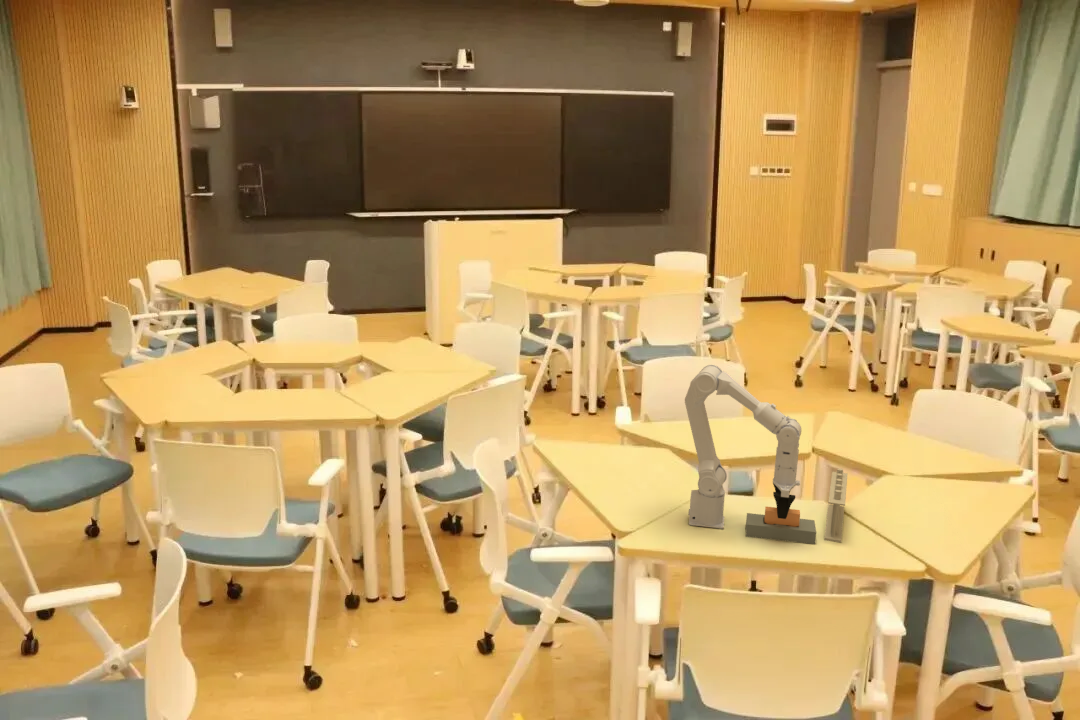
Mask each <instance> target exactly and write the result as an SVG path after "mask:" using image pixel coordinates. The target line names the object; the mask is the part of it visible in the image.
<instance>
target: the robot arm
mask: <svg viewBox="0 0 1080 720" xmlns="http://www.w3.org/2000/svg"><path fill="white" fill-rule="evenodd" d="M716 391H717V392H716ZM714 392H716V396H725V395H727V396H729V397H731V398H732V399H734V400H735V401H736V402H738V403H740V404H741V405H742V406H743V407H745V408H746V409H748V410H749V411H751V412H752V414H753V418H754V420H755V421H756V422H757V423H759V424H760V425H761V426H763V427H764V428H765V429H767V431H768V432H771V434H773V435H775V436H776V441H777V446H776V449H775V451H776V452H775V462H774V471H773V478H772V484H773V487H774V490H775V491H773V494H772V495H773V499H774V500H775V504H776V508H777V515H778V518H781V519H786V517H787V515H788V512H789V509H791V505H792V504H793V502H794V501H795V500H796V495H795V494H790V493H791V491H792V490H793V489H794V488H795V487H796V486H798V487H799V486H801V481H800V480H797V472H798V471H797V470H798V462H799V451H800V450H799V448H800V447H799V446H800V438H801V434H802V426H801V424H800V423H799V422H798V420H797V419H795V418H791V417H790V416H789V415H785V414H784V413H782V412H781V411H780V410H778V409H777V408H776V407H777V405H776V404H775V403H773V402H772V403H769V402H768V401H764V402H763V401H762V402H761V401H760V400H758V398H757V397H755V396H754V395H753V394H752V393H750V392H749V391H748V389H746V388H744V387H743V386H742V385H741V384H740V383H739V382H738V381H736V379H734V378H733V377H732V376H731V375H730V374H729V373H728V372H727V371H724V370H722V369H721V368H720V367H719V366H717V365H715V364H708V365H705V366H703V368H702V369H701V370H700V371H699V372H698V373H697V374H696V375H695V377H693V379H691V381H690V383H689V387H688V390H687V391H686V395H685V398H684V404H685V408H686V413H687V418H688V421H689V426H690V430H691V434H692V439H693V443H694V447H695V451H696V456H697V460H698V467H697V468H698V469H697V470H698V471H697V472H698V481H697V487H698V489H692V490H691V492H690V503H689V508H688V517H689V519H688V526H694V527H695V526H697V527H703V528H713V529H721V530H722V529H724V528H725V516H724V508H725V495H726V494H725V493H726V491H725V488H724V487H723V485H724V483H726V480H727V477H728V476H727V471H726V469H725V468H724V467H723V465H722V462H721V460H720V458H719V457H718V456H717V452H716V447H715V443H714V439H713V434H712V431H711V426H710V422H709V418H708V414H707V408H706V404H705V401H706V399H708V397H709V396H711V394H713V393H714Z"/></svg>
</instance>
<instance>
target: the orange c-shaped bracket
mask: <svg viewBox="0 0 1080 720" xmlns="http://www.w3.org/2000/svg"><path fill="white" fill-rule="evenodd" d="M764 507H765V509H764V515H765V517H764V521H765V523H766V524H771V525H774V524H781V525H789V526H790V527H797V526H799V521H800V519H801V509H794V508H789V512H788V515H787V517H786V519H781V518H778V515H777V506H776V507H772V506H764Z"/></svg>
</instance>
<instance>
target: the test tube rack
mask: <svg viewBox="0 0 1080 720" xmlns="http://www.w3.org/2000/svg"><path fill="white" fill-rule="evenodd" d="M847 486H848V472H847V473H846V472H844V469H843V468H840V467H839V468H837V470H836V471H832V470H831V479H830V487H829V493H828V505H827V514H826V523H825V530H824V537H823V540H824V541H828V542H834V543H840V544H842V541H843V540H842V539H843V526H844V525H843V524H844V515H845V513H844V512H845V506H846V502H847V501H846V499H847Z"/></svg>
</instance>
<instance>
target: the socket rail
mask: <svg viewBox="0 0 1080 720" xmlns="http://www.w3.org/2000/svg"><path fill="white" fill-rule="evenodd" d="M764 517H765V514H761V513H750V512H746V518H745V519H746V520H745V521H746V522H745V537H746V538H756V539H765V540H772V541H773V540H775V541H783V542H790V543H792V542H793V543H800V544H809V545H815V544H816V541H817V539H816V538H817V529H816V523H815V519H808V518H807V519H806V518H800V521H799V526H797V527H790V526H789V525H781V524H774V525H771V524H766V523H765V521H764Z"/></svg>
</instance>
